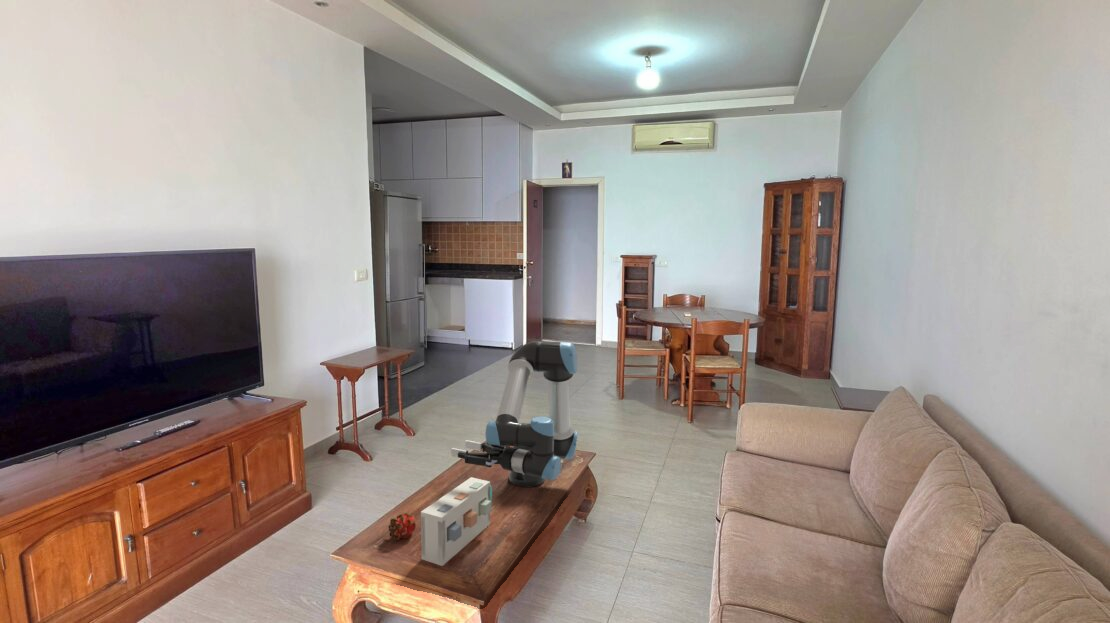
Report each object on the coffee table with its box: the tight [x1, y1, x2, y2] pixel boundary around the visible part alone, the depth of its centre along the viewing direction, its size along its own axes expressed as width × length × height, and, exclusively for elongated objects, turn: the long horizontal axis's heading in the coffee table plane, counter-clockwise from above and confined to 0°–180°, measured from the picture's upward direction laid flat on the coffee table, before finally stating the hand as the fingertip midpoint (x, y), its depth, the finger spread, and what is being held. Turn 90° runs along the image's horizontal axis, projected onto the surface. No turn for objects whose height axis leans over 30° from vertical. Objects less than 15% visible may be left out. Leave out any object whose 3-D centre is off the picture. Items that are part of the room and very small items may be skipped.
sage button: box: [479, 499, 492, 515], centre depth 190 cm, size 4×5×4 cm
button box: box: [420, 476, 491, 567], centre depth 184 cm, size 28×8×16 cm, turn 155°
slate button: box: [447, 523, 462, 541], centre depth 174 cm, size 4×5×4 cm
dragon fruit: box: [388, 512, 417, 541], centre depth 187 cm, size 8×8×12 cm
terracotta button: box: [463, 511, 477, 528], centre depth 182 cm, size 4×5×4 cm
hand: (458, 447), depth 193 cm, fingers open, 8 cm apart
